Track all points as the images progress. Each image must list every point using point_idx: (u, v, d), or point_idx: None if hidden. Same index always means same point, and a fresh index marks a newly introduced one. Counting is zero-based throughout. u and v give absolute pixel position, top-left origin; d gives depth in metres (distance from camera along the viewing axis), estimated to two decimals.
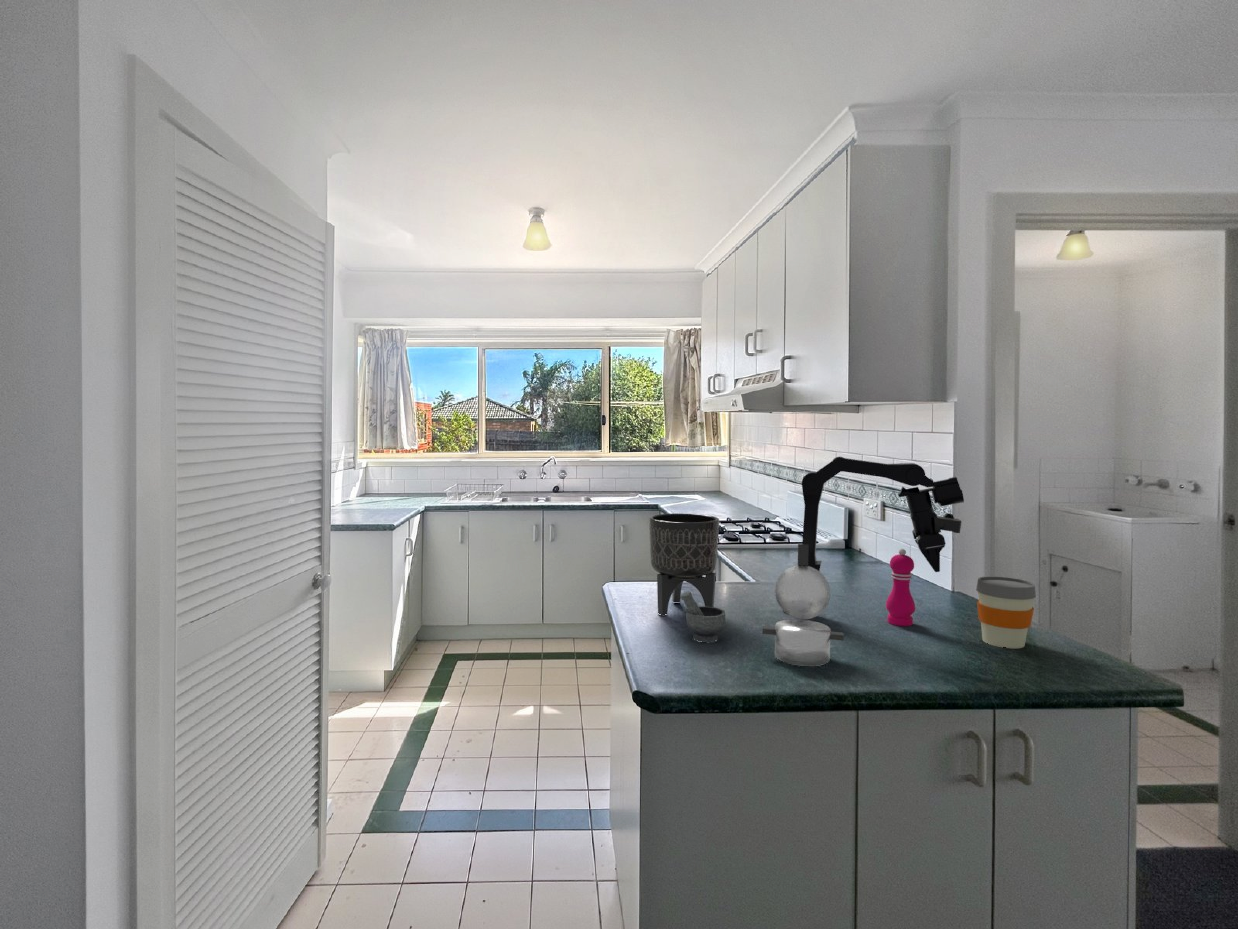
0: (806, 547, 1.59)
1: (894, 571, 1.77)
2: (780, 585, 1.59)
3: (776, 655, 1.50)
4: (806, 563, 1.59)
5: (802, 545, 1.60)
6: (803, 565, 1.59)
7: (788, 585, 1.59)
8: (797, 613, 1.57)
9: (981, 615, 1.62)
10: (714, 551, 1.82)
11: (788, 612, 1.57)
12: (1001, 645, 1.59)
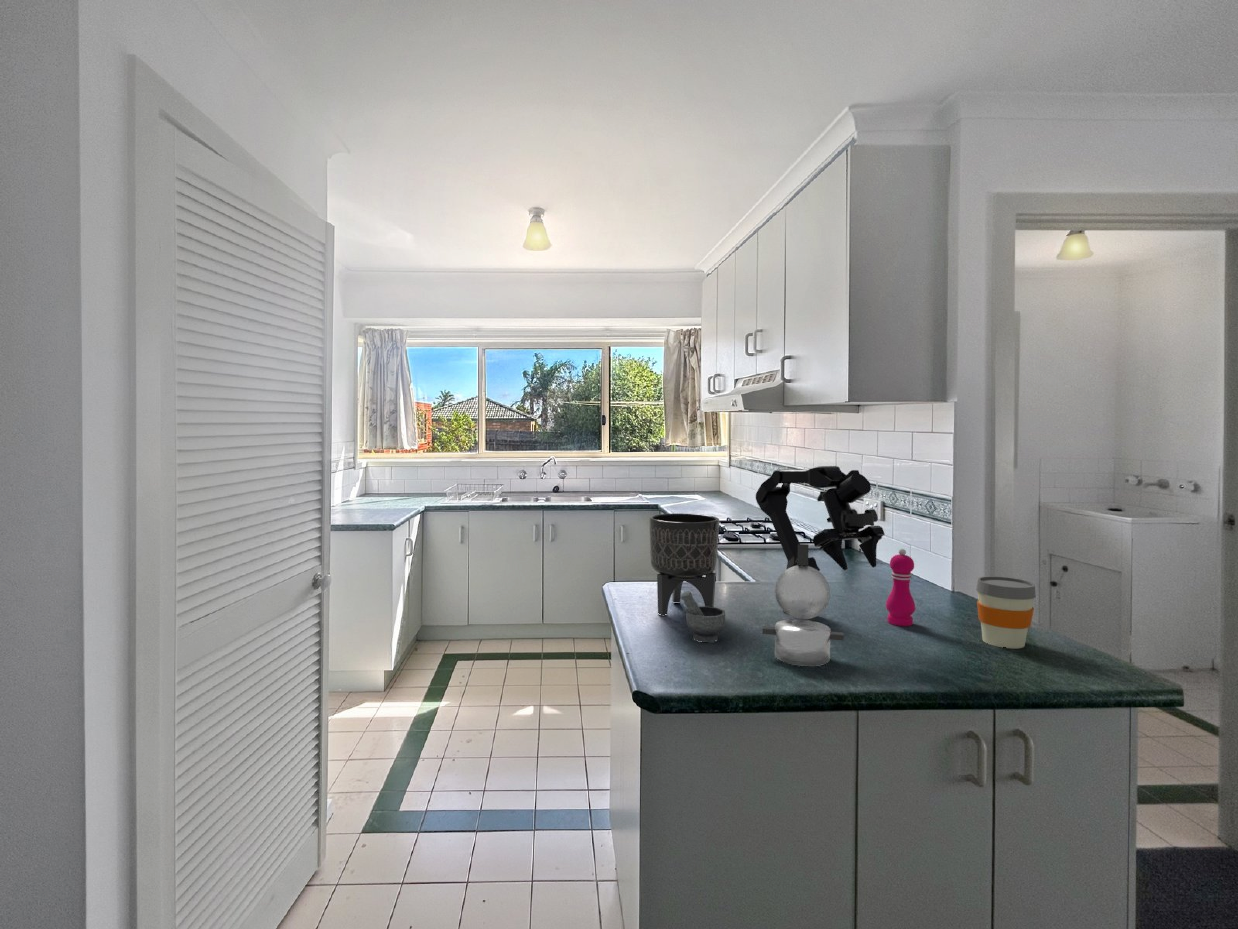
0: (806, 547, 1.59)
1: (894, 571, 1.77)
2: (780, 585, 1.59)
3: (776, 655, 1.50)
4: (806, 563, 1.59)
5: (802, 545, 1.60)
6: (803, 565, 1.59)
7: (788, 585, 1.59)
8: (797, 613, 1.57)
9: (981, 615, 1.62)
10: (714, 551, 1.82)
11: (788, 612, 1.57)
12: (1001, 645, 1.59)
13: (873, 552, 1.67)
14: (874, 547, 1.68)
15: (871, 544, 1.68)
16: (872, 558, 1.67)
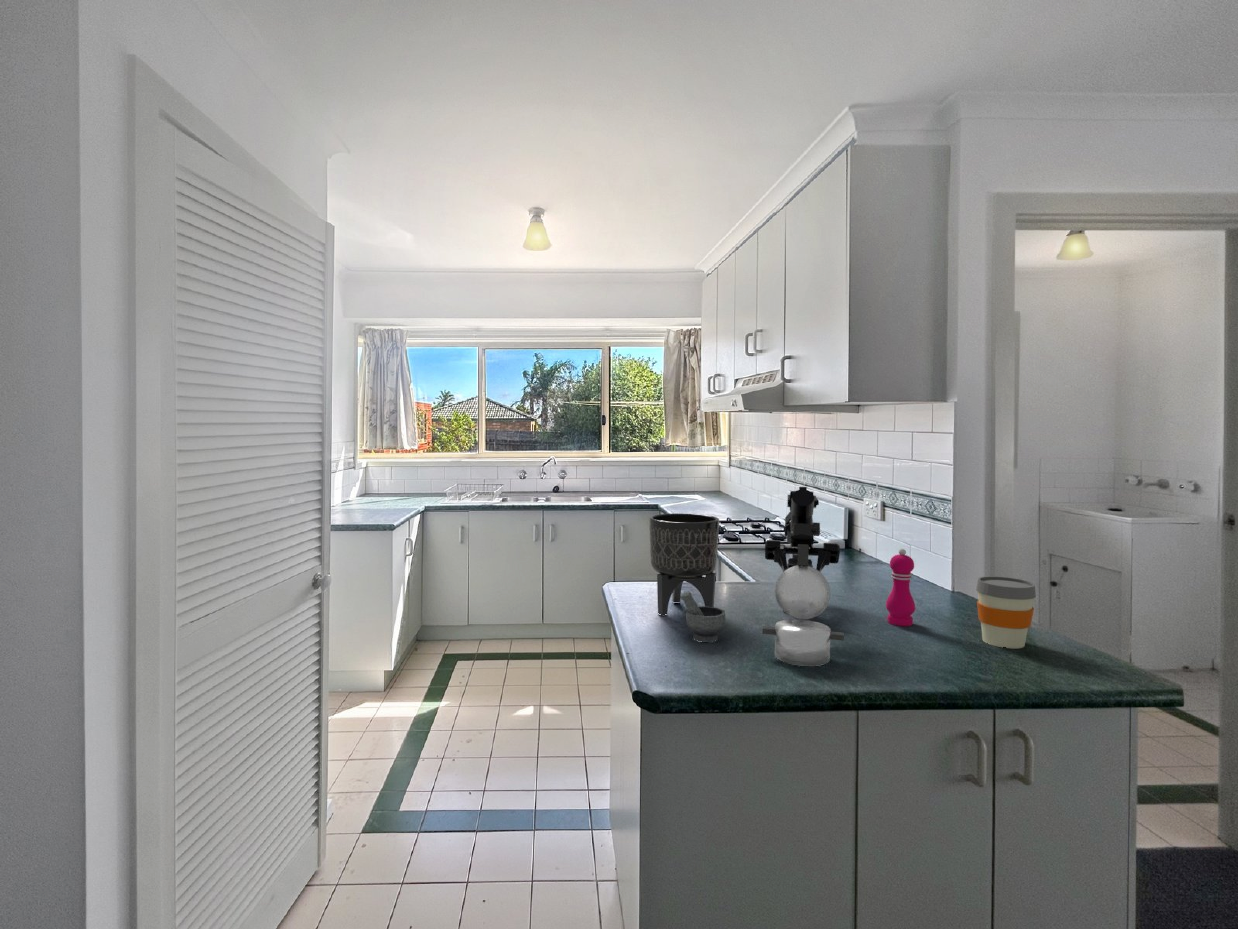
0: (806, 547, 1.59)
1: (894, 571, 1.77)
2: (780, 585, 1.59)
3: (776, 655, 1.50)
4: (806, 563, 1.59)
5: (802, 545, 1.60)
6: (803, 565, 1.59)
7: (788, 585, 1.59)
8: (797, 613, 1.57)
9: (981, 615, 1.62)
10: (714, 551, 1.82)
11: (788, 612, 1.57)
12: (1001, 645, 1.59)
13: (817, 566, 1.69)
14: (819, 561, 1.70)
15: None
16: None
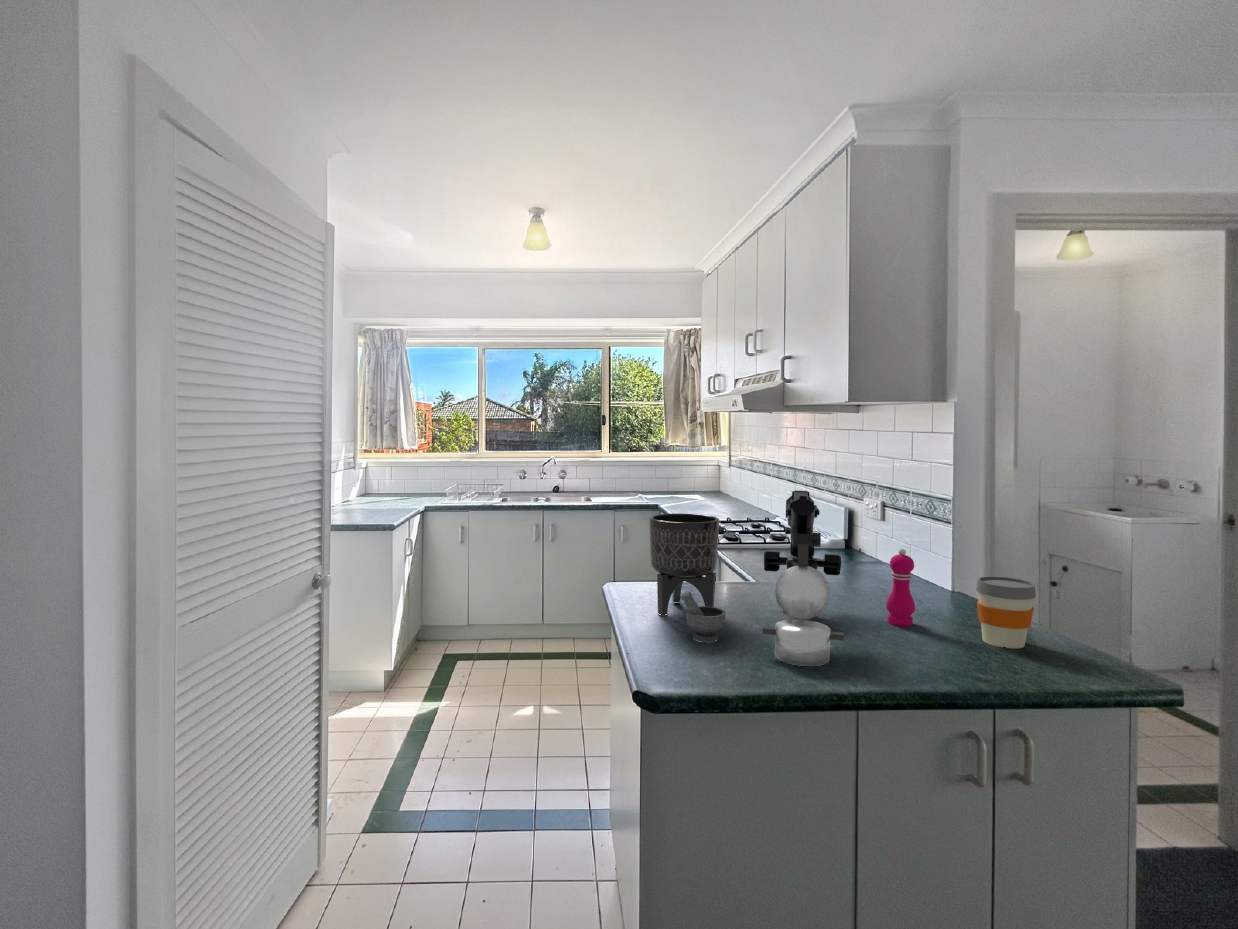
0: (806, 547, 1.59)
1: (894, 571, 1.77)
2: (780, 585, 1.59)
3: (776, 655, 1.50)
4: (806, 563, 1.59)
5: (802, 545, 1.60)
6: (803, 565, 1.59)
7: (788, 585, 1.59)
8: (797, 613, 1.57)
9: (981, 615, 1.62)
10: (714, 551, 1.82)
11: (788, 612, 1.57)
12: (1001, 645, 1.59)
13: None
14: None
15: None
16: None
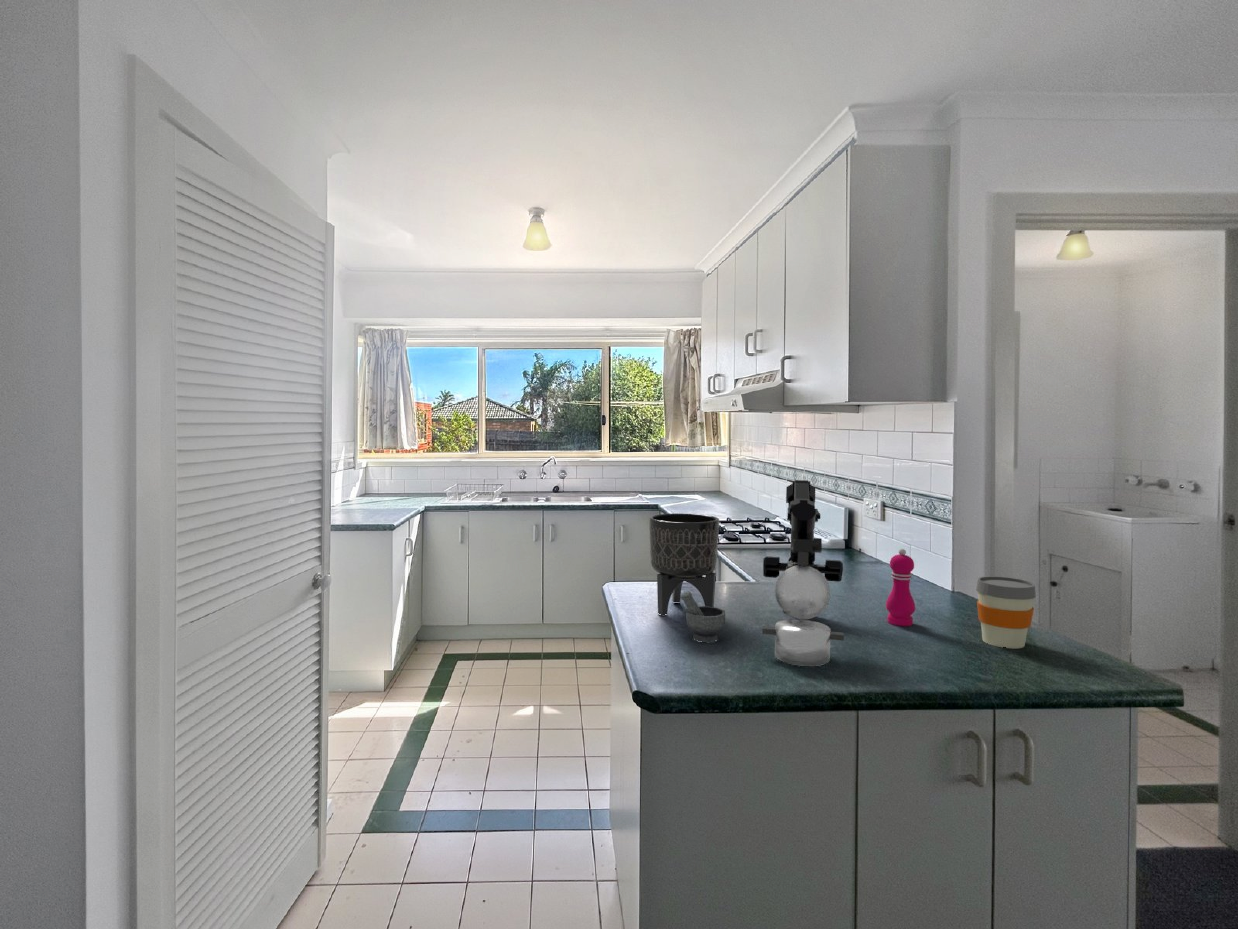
0: None
1: (894, 571, 1.77)
2: (780, 585, 1.59)
3: (776, 655, 1.50)
4: (806, 563, 1.58)
5: None
6: (803, 565, 1.58)
7: (788, 585, 1.58)
8: (797, 613, 1.57)
9: (981, 615, 1.62)
10: (714, 551, 1.82)
11: (788, 612, 1.57)
12: (1001, 645, 1.59)
13: None
14: None
15: None
16: None
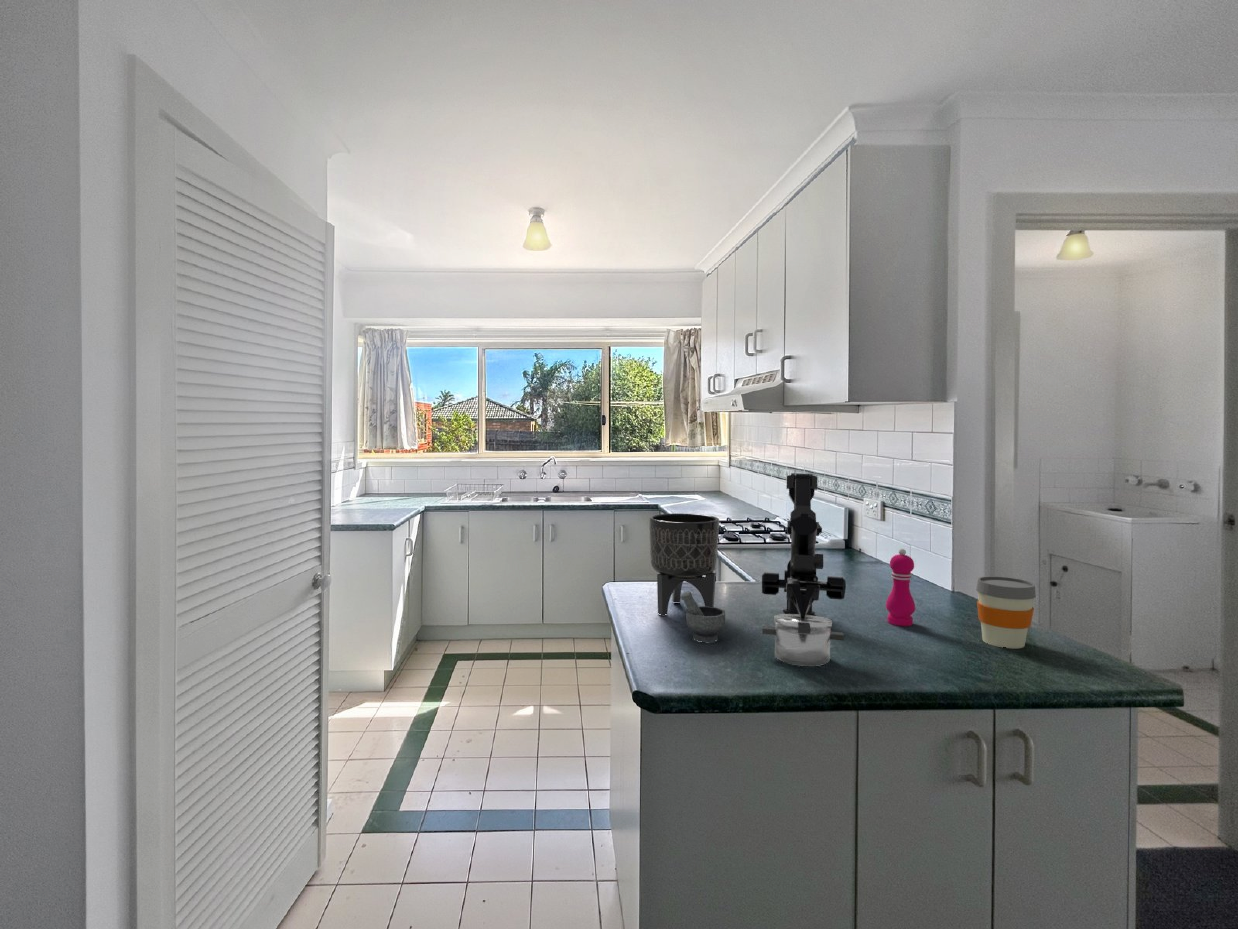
0: None
1: (894, 571, 1.77)
2: None
3: (776, 655, 1.50)
4: None
5: None
6: None
7: None
8: None
9: (981, 615, 1.62)
10: (714, 551, 1.82)
11: None
12: (1001, 645, 1.59)
13: (805, 602, 1.51)
14: (807, 597, 1.52)
15: (805, 593, 1.53)
16: None
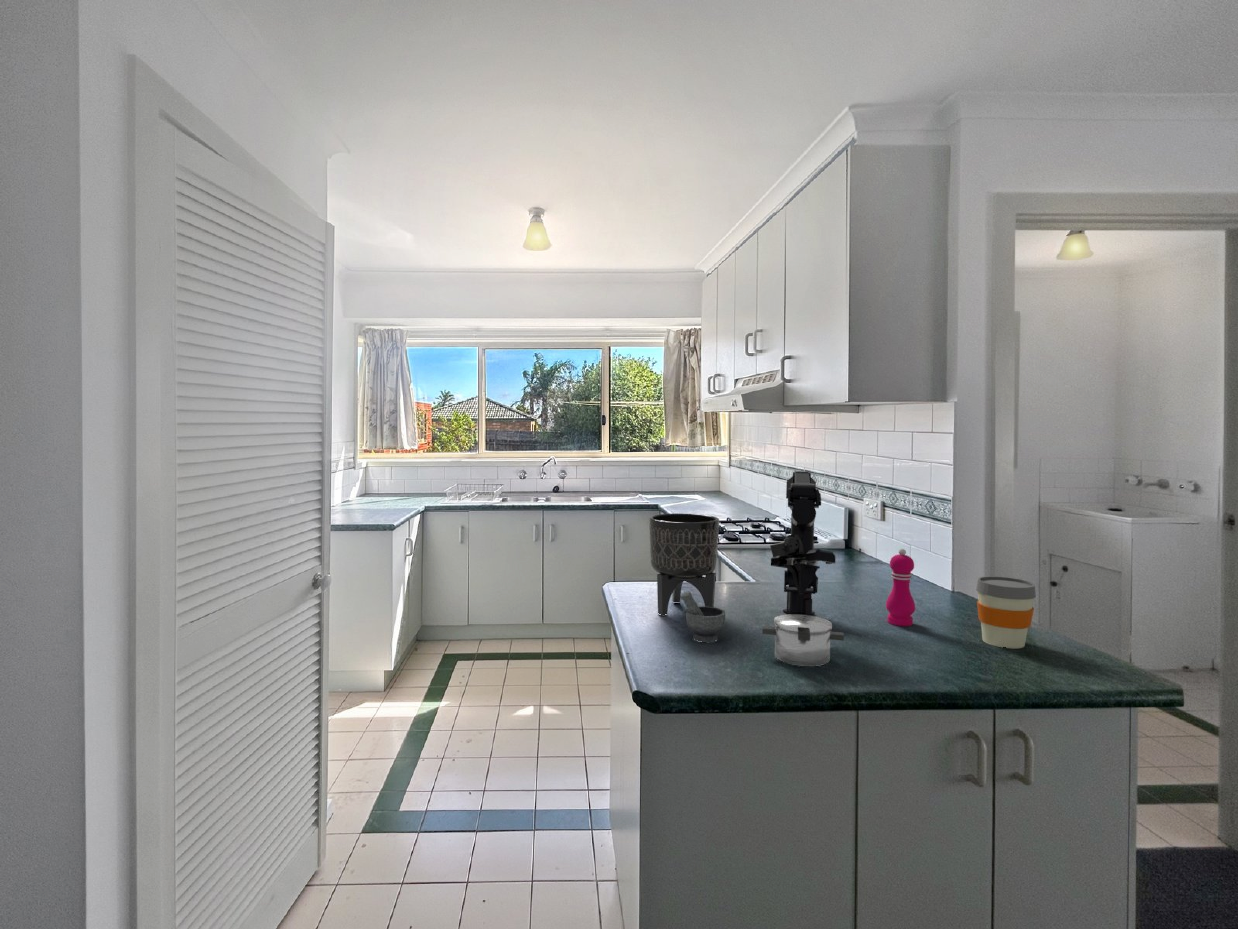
0: None
1: (894, 571, 1.77)
2: None
3: (776, 655, 1.50)
4: None
5: None
6: None
7: None
8: None
9: (981, 615, 1.62)
10: (714, 551, 1.82)
11: None
12: (1001, 645, 1.59)
13: (799, 579, 1.66)
14: (799, 574, 1.65)
15: None
16: None
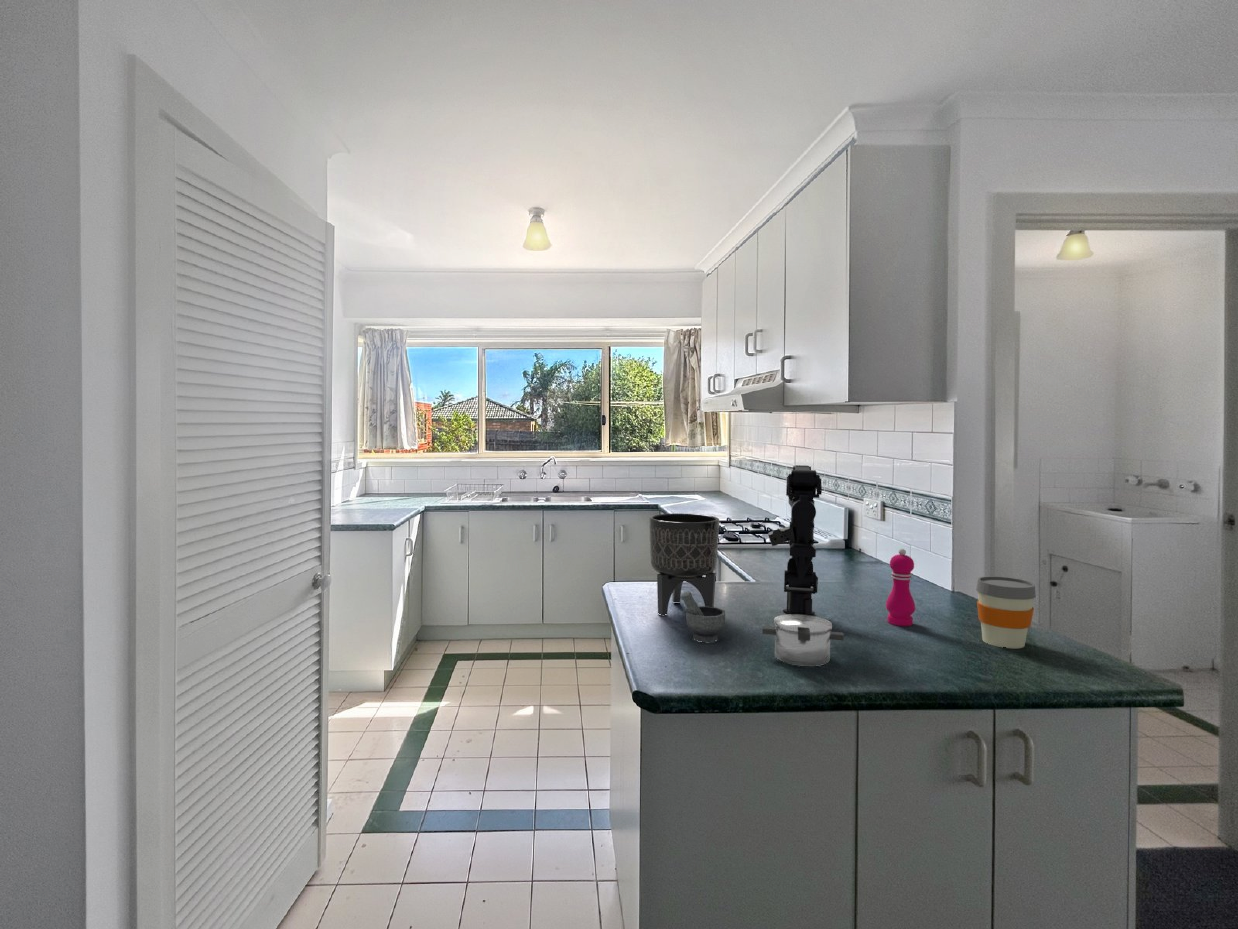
0: None
1: (894, 571, 1.77)
2: None
3: (776, 655, 1.50)
4: None
5: None
6: None
7: None
8: None
9: (981, 615, 1.62)
10: (714, 551, 1.82)
11: None
12: (1001, 645, 1.59)
13: None
14: (796, 561, 1.71)
15: None
16: None
